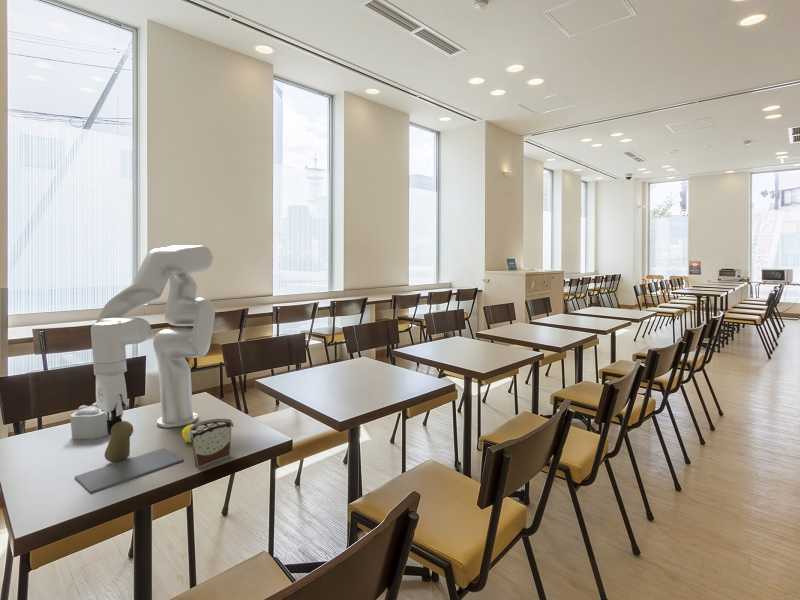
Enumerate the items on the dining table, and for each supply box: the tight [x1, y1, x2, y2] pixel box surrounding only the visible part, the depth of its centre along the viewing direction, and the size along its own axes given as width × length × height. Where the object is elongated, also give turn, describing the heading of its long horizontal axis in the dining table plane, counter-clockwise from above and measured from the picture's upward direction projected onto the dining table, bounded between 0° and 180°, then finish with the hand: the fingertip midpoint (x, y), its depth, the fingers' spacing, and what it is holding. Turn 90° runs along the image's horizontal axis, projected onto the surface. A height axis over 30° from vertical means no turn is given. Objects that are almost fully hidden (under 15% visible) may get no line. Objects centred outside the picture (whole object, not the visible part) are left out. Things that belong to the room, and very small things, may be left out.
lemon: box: [181, 423, 194, 444], centre depth 139 cm, size 7×5×5 cm
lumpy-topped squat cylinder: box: [69, 402, 109, 440], centre depth 148 cm, size 10×13×9 cm
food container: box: [188, 418, 234, 469], centre depth 127 cm, size 12×6×10 cm, turn 141°
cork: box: [104, 420, 134, 464], centre depth 125 cm, size 6×6×11 cm
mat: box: [74, 447, 185, 494], centre depth 121 cm, size 12×22×1 cm, turn 140°
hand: (115, 432), depth 127 cm, fingers closed
